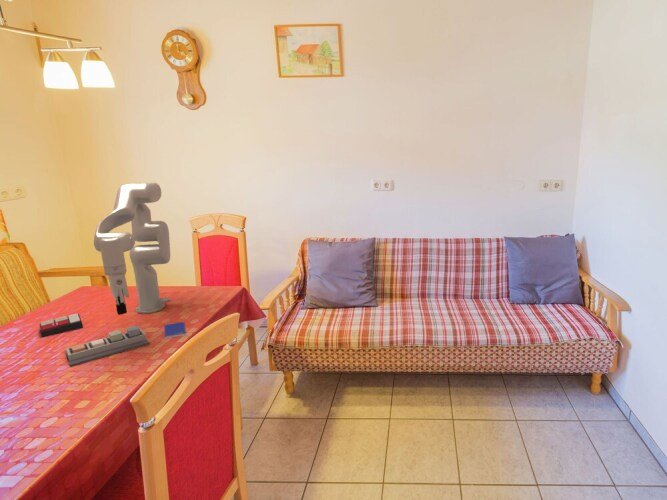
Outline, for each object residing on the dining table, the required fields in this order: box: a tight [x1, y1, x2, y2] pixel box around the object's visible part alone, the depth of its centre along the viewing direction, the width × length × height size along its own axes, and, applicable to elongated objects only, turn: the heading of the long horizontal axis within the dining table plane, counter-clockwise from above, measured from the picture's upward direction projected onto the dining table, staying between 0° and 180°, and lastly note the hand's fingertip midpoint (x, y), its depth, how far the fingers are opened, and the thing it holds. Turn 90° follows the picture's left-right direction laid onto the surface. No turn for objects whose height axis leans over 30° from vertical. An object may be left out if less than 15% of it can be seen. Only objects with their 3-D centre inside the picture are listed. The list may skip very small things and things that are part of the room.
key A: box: [108, 329, 123, 342], centre depth 168 cm, size 4×4×2 cm
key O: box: [90, 338, 105, 348], centre depth 165 cm, size 4×4×2 cm
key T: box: [125, 324, 141, 337], centre depth 172 cm, size 4×4×2 cm
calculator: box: [39, 312, 84, 338], centre depth 186 cm, size 11×4×15 cm
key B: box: [70, 343, 86, 353], centre depth 161 cm, size 4×4×2 cm
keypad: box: [64, 328, 150, 367], centre depth 167 cm, size 27×14×3 cm, turn 128°
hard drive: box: [164, 321, 187, 340], centre depth 181 cm, size 2×8×12 cm
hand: (122, 313), depth 168 cm, fingers closed
